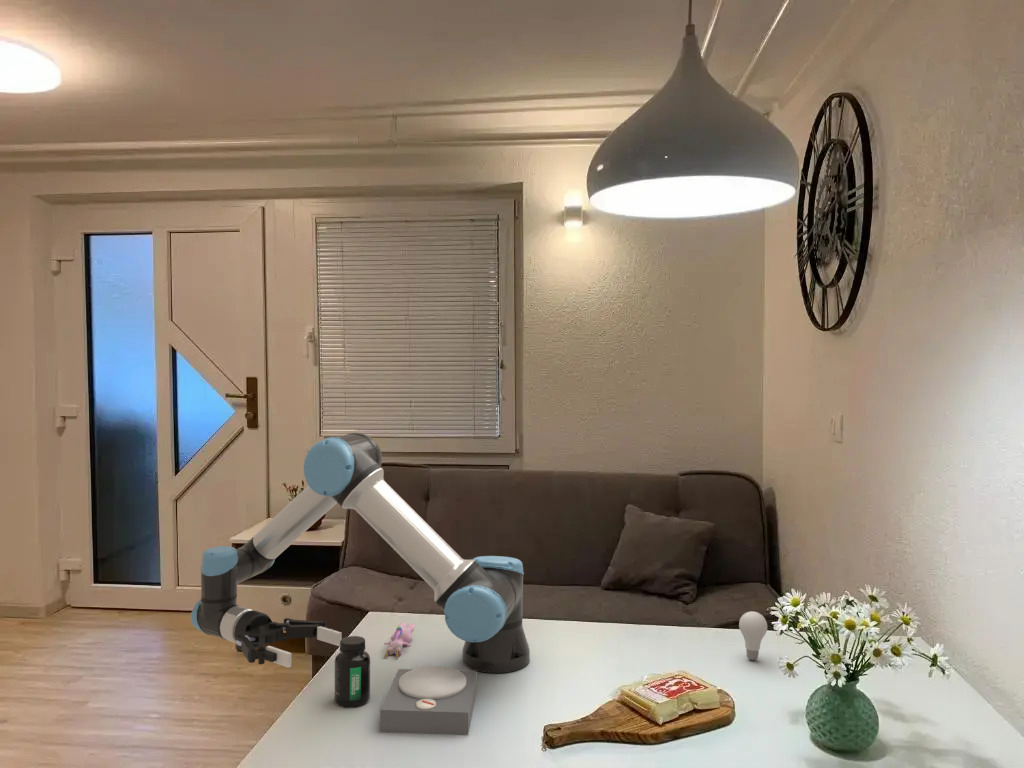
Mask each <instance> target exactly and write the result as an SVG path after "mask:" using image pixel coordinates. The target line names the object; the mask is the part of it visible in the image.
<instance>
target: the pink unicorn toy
mask: <svg viewBox="0 0 1024 768" xmlns="http://www.w3.org/2000/svg"><path fill="white" fill-rule="evenodd" d="M415 628H416V625H415V623H409V625H408V623H407V622H406V623H405V622H401V623H400V624H398V625H397V626H396V630H395V632H394V633H393V634H392V636H391V637H390V640H391V641H385V642H384V643H383V645H384V646H387V645H388V646H387V648H386V651H385V654H384V657H385V658H386V659H387V658H388V657H389V656H393V655H395V656H394V658H397V659H399V656H401V655H402V654H403V650H404V647H405V646H408V647H411V644H410V643H412V641H413V636H412V633H413V632H414V631H415Z"/></svg>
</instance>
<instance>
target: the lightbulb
mask: <svg viewBox="0 0 1024 768" xmlns="http://www.w3.org/2000/svg"><path fill="white" fill-rule="evenodd" d="M738 628H739V630H740V633H741V635H742V637H743V639H744V643H745V644H744V645H745V649H746V651H745V652H746V657H747V658H748V659H749V660H750V661H756V660H757V659H759V653H760V652H759V651H760V649H761V644H762V640H763V638H764V637H765V636H766V634H767V631H768V623H767V620H766V618H765V617H764V616H763V615H762V614H761V613H760V612H757V611H753V610H752V611H747V612H744V613H743V614H742V615H741V617H740V618H739V623H738Z"/></svg>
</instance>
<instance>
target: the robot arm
mask: <svg viewBox="0 0 1024 768" xmlns="http://www.w3.org/2000/svg"><path fill="white" fill-rule="evenodd" d="M382 462H383V454H382V449H381V448H380V446H379V444H378V443H377V441H376V440H375V439H374V438H372V437H371V436H369V435H368V434H365V433H361V432H351V433H347V434H344V435H339V436H328V437H326V438H324V439H322V440H320V441H318V442H317V443H315V444H313V445H312V446H311V447H310V448H309V450H308V451H307V452H306V455H305V458H304V461H303V476H304V480H305V481H306V483H307V486H306V487H305V488H304V489H303V490H302V491H301V492H300V493H299V494H297V495H296V496H295V497H294V498H293V499H292V500H291V501H290V502H289V503H288V504H287V505H286V506H284V508H282V509H281V510H280V511H279V512H278V513H277V514H276V515H275V516H273V518H272V519H270V521H268V522H267V523H266V524H265V525H264V526H263V527H262V528H261V529H260V530H259V531H257V533H256V534H254V535H253V536H252V537H251V538H250V539H249V540H248V541H247V542H246V543H244V544H243V545H242V546H241V547H238V548H237V549H236V548H235V547H233V546H228V545H227V546H226V545H225V546H224V545H222V546H219V545H218V546H214V547H210V548H207V549H206V550H204V551H203V553H202V555H201V565H200V574H201V575H200V577H201V578H200V585H201V586H200V589H201V590H200V596H201V597H200V599H199V600H197V602H196V603H195V604H194V606H193V609H192V611H191V613H190V622H191V624H192V626H193V628H195V629H196V630H197V631H200V632H202V633H203V634H205V635H207V636H213V637H217V638H220V639H222V640H226V641H229V642H231V643H233V644H236V649H237V650H240V651H241V652H242V655H244V656H245V659H246V660H247V661H248V663H250V664H253V663H255V662H256V660H257V663H258V665H264V664H265V661H267V662H269V663H274V664H276V665H280V666H282V667H284V668H287V669H288V668H291V667H292V655H293V653H292V652H289V651H287V650H283V649H280V648H277V647H275V646H271V644H273V643H276V642H279V641H280V642H283V641H289V640H290V639H304V638H305V639H308V638H309V639H310V638H311V639H312V638H313V639H314V638H316V640H318V641H321V642H324V643H327V644H331V645H334V646H337V647H340V641H341V640H342V639H343V637H342V636H343V635H342V633H343V632H341V631H338V630H334V629H333V628H328V627H327V621H322V620H307V619H306V620H305V619H292V618H288V617H286V618H283V622H281V623H280V622H277V621H272V619H271V618H270V616H269V615H268V614H267V613H264V612H261V611H258V610H255V609H251V608H248V607H244V606H241V605H237V603H238V602H237V598H238V584H240V583H242V582H244V581H246V580H248V579H251V578H253V577H255V576H257V575H259V574H262V573H265V572H266V571H267V570H268V569H270V568H271V567H272V566H273V564H274V563H275V560H276V558H278V557H279V556H280V555H281V554H282V553H283V552H284V551H285V550H287V549H288V548H289V547H290V546H291V545H292V544H293V543H294V542H295V541H296V540H298V539H299V538H300V537H301V536H302V535H303V534H304V533H305V532H306V531H307V530H309V528H311V527H312V526H313V525H314V524H316V522H318V521H319V520H320V519H321V518H322V517H323V516H324V515H325V514H326V513H328V512H329V511H330V510H331V509H332V508H333V507H335V505H337V504H338V505H339V506H340V508H341V507H342V508H343V509H344V510H355V512H357V514H359V515H360V516H361V517H362V518H363V519H364V520H365V522H366V523H368V525H370V527H372V529H374V530H375V532H376V533H377V534H378V535H379V536H380V537H381V538H382V539H383V540H384V541H385V542H386V543H387V544H388V545H389V546H390V548H392V549H393V550H394V551H395V552H396V553H397V554H398V555H399V556H400V557H401V559H403V560H404V561H405V562H406V563H407V564H408V566H410V567H411V569H412V570H414V572H416V574H417V575H419V576H420V577H421V579H422V580H424V581H425V582H426V584H427V585H428V586H429V587H430V588H431V589H432V590H433V593H434V597H433V599H434V602H435V604H436V605H437V606H439V608H440V609H441V610H442V611H443V614H444V621H445V624H446V626H447V628H448V630H449V631H450V632H451V634H453V635H454V636H456V638H458V639H460V640H461V641H464V644H463V647H462V652H461V654H462V657H461V659H462V663H463V664H464V665H465V666H466V667H467V668H469V669H472V670H473V671H477V672H483V673H491V674H504V673H505V674H506V673H510V672H511V673H512V672H514V671H515V672H516V671H518V670H519V671H520V670H521V669H524V668H525V667H527V665H528V664H529V663H530V657H531V656H530V655H531V654H530V653H531V650H530V647H529V643H528V639H527V637H526V633H525V630H524V627H523V613H524V612H523V611H524V610H523V608H524V607H523V600H524V597H523V596H524V592H523V591H524V575H525V572H524V566H523V561H521V559H518V558H515V557H511V556H504V555H503V556H502V555H501V556H499V555H498V556H497V555H483V556H482V555H481V556H476V557H474V558H472V559H464V558H463V557H462V556H460V555H459V554H458V553H457V551H456V550H454V549H453V548H452V547H451V546H450V544H448V543H447V542H446V541H445V540H444V539H443V537H441V536H440V535H439V534H438V533H437V532H436V531H435V530H434V529H433V527H431V526H430V525H429V524H428V523H427V522H426V521H425V520H424V519H423V518H422V517H421V516H420V515H419V514H418V513H417V512H416V511H415V510H414V509H413V507H411V506H410V504H408V503H407V502H406V501H405V500H404V499H403V498H402V497H401V496H400V494H398V493H397V492H396V490H394V489H393V488H392V487H391V486H390V485H389V484H388V483H387V481H385V478H384V474H385V473H384V469H383V467H381V466H382V464H383V463H382ZM284 632H285V636H284ZM267 644H270V645H267ZM266 645H267V646H266Z"/></svg>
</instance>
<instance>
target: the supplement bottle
mask: <svg viewBox="0 0 1024 768" xmlns="http://www.w3.org/2000/svg"><path fill="white" fill-rule="evenodd" d="M370 699H371V656H370V654H369V652H367V651H366V639H365V638H364V637H363V636H359V635H358V636H357V635H353V636H352V635H351V636H346V637H344V638H343V637H342V640H341V641H340V646H339V653H338V654H337V655H336V656H335V658H334V702H335V703H336V705H337V704H338V705H337V706H339V707H341V706H343V707H342V708H346V707H353V708H358V706H359V707H361V705H362V706H364V705H366V704H367V703H368V702H369V701H370Z"/></svg>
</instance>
